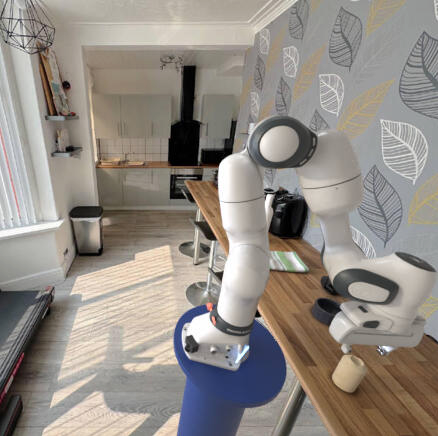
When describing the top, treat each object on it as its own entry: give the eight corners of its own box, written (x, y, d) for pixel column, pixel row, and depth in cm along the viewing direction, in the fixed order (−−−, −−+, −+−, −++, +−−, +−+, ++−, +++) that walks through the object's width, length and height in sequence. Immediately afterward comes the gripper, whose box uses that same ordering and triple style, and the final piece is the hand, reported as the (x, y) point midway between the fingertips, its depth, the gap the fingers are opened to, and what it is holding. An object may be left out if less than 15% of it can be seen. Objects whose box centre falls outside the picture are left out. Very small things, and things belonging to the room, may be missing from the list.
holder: (321, 326, 88) (326, 316, 86) (306, 306, 97) (310, 296, 95) (349, 328, 88) (355, 318, 86) (331, 307, 97) (335, 298, 95)
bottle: (256, 235, 154) (267, 192, 142) (267, 240, 149) (280, 195, 137) (249, 239, 150) (260, 194, 138) (261, 244, 144) (274, 198, 132)
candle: (338, 391, 67) (352, 368, 63) (327, 372, 72) (340, 349, 68) (359, 394, 66) (375, 371, 62) (347, 375, 71) (360, 352, 67)
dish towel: (309, 274, 118) (311, 268, 116) (261, 269, 119) (263, 264, 118) (293, 255, 133) (294, 250, 132) (251, 252, 135) (252, 246, 134)
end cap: (337, 284, 111) (342, 272, 109) (350, 294, 105) (356, 282, 102) (317, 284, 110) (322, 272, 108) (329, 295, 104) (335, 283, 101)
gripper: (415, 306, 61) (392, 344, 66) (334, 302, 61) (318, 340, 67) (443, 326, 55) (414, 366, 60) (353, 321, 55) (333, 361, 61)
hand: (363, 352), depth 63 cm, fingers open, 8 cm apart
